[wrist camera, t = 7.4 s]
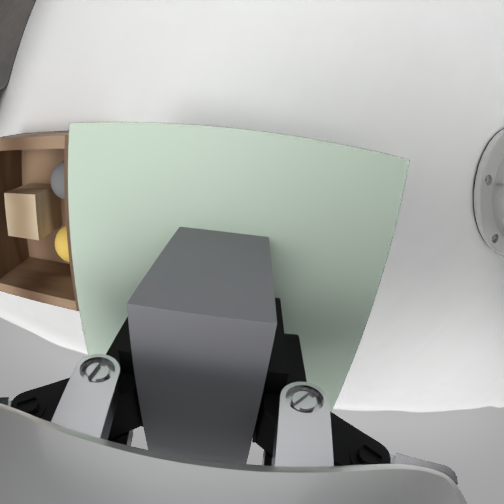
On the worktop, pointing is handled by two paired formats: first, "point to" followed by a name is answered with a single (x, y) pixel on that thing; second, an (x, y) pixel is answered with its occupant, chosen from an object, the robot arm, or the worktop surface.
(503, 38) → the worktop surface
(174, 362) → the lid
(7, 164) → the wooden box
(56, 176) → the ball grey
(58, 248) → the ball mustard
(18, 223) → the beech cube
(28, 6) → the planter
